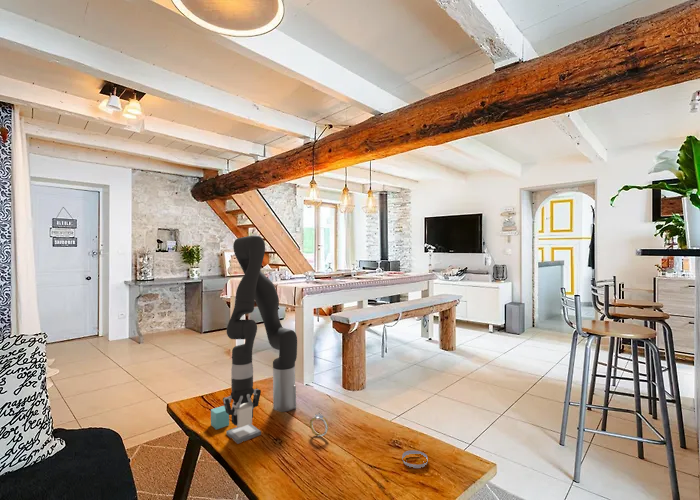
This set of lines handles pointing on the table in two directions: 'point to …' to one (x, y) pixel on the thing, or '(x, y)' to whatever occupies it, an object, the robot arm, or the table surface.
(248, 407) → the cream brick
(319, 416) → the ring
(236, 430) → the baseplate
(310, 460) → the table surface
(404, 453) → the gray circular band
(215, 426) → the teal brick
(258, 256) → the robot arm
